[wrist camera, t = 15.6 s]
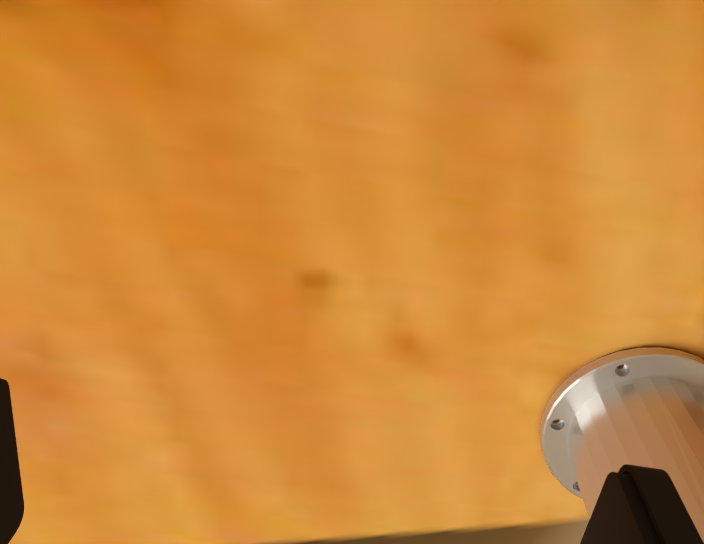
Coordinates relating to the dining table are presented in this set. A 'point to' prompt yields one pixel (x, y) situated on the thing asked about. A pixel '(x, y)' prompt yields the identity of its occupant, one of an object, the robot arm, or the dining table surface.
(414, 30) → the dining table surface
